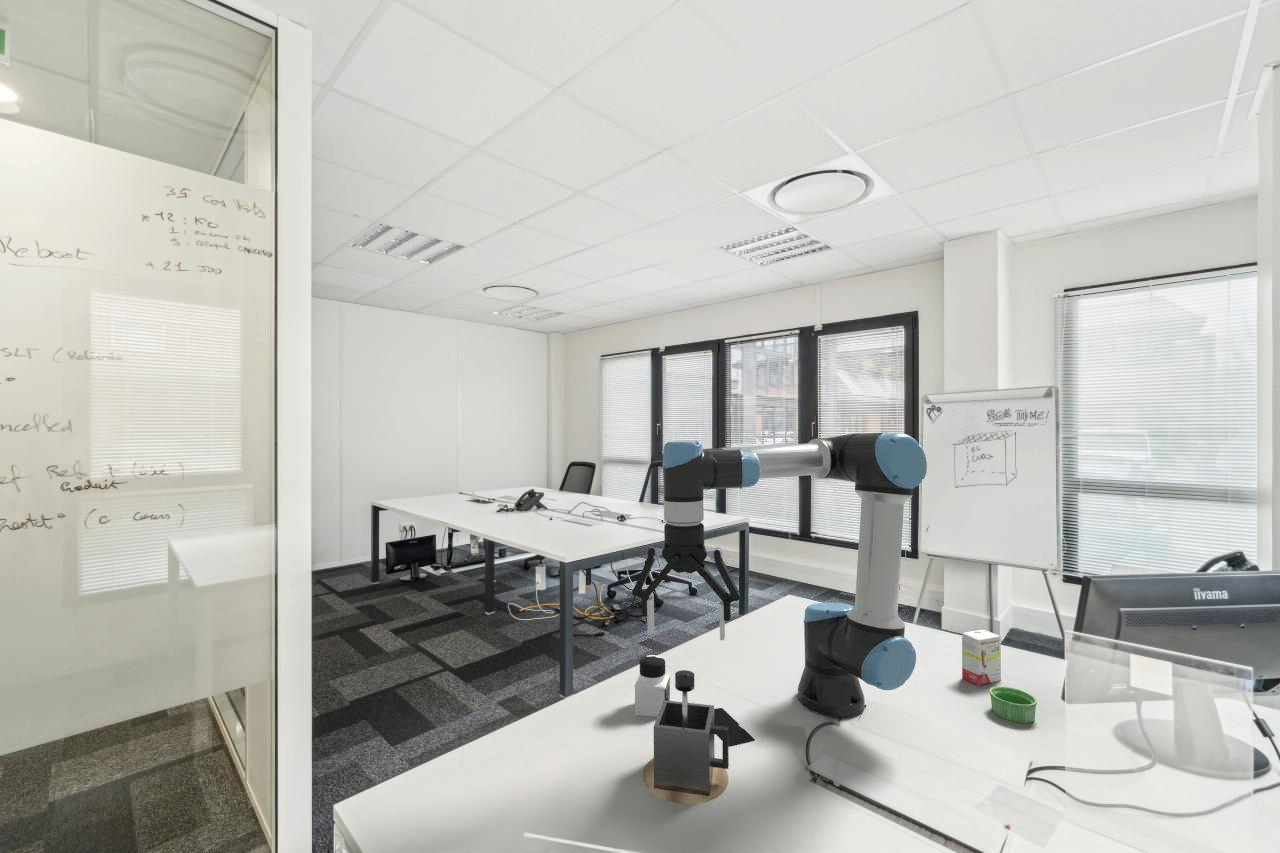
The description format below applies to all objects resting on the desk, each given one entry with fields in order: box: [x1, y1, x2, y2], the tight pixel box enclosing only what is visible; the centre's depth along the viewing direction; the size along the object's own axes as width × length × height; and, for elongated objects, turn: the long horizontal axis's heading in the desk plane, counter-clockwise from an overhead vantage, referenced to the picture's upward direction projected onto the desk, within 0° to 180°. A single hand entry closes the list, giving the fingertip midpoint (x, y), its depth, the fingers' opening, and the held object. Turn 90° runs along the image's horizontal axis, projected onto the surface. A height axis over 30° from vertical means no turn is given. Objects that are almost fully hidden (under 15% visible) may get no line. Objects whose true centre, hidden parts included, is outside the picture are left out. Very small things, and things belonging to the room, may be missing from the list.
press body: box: [653, 700, 730, 796], centre depth 100 cm, size 13×10×11 cm
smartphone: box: [714, 707, 756, 748], centre depth 117 cm, size 7×1×15 cm
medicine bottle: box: [634, 654, 671, 718], centre depth 125 cm, size 7×7×12 cm
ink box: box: [961, 629, 1002, 686], centre depth 140 cm, size 9×5×12 cm, turn 110°
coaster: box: [642, 757, 730, 805], centre depth 100 cm, size 16×16×1 cm
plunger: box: [674, 669, 695, 728], centre depth 100 cm, size 7×7×17 cm
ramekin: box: [988, 686, 1038, 724], centre depth 123 cm, size 9×9×4 cm
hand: (686, 635), depth 101 cm, fingers open, 13 cm apart
